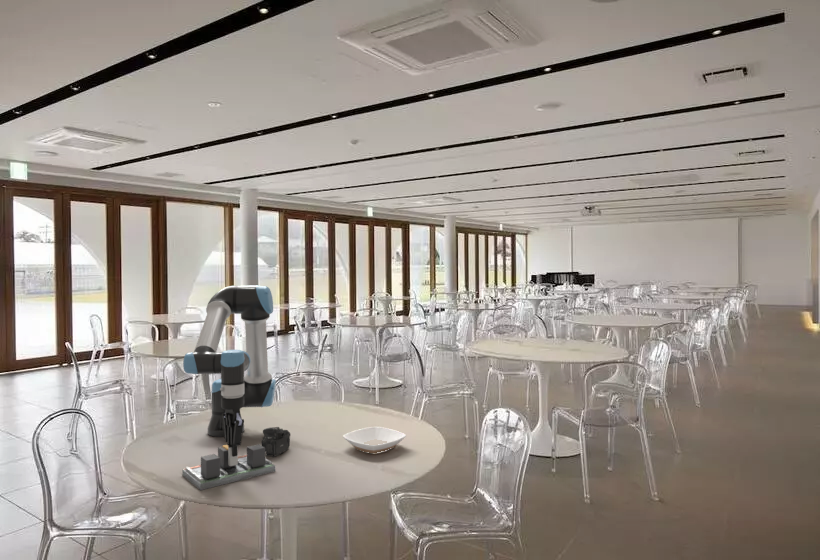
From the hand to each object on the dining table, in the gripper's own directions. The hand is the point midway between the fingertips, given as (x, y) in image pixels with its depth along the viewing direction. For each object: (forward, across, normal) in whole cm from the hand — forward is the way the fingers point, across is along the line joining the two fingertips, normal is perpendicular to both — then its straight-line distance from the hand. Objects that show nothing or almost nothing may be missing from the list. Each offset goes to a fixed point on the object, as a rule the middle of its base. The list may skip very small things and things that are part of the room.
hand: (233, 464), depth 189 cm
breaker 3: (+1, +1, +8) cm, 8 cm away
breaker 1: (+1, +1, -8) cm, 8 cm away
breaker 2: (+1, -5, 0) cm, 5 cm away
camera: (+4, -13, +22) cm, 26 cm away
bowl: (+4, +8, +54) cm, 55 cm away
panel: (+4, -3, 0) cm, 5 cm away
